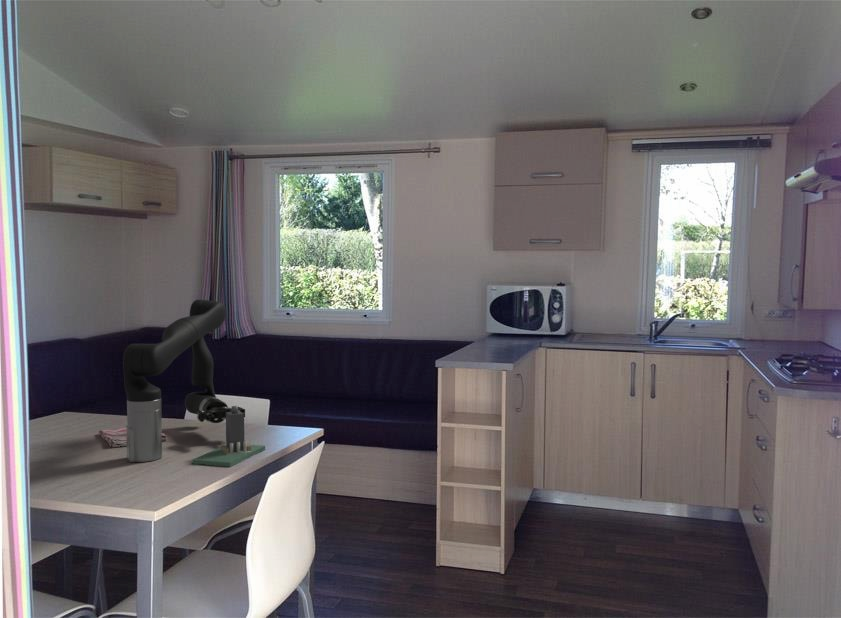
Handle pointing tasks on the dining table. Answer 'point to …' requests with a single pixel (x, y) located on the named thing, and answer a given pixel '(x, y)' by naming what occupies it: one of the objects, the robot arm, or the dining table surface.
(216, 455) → the board
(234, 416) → the block
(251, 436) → the dining table surface
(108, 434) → the dish towel
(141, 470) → the dining table surface
